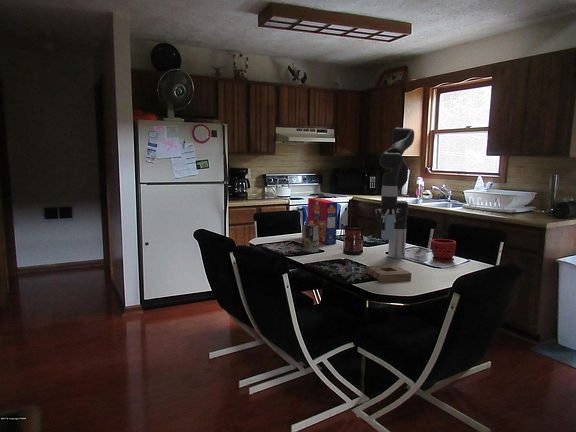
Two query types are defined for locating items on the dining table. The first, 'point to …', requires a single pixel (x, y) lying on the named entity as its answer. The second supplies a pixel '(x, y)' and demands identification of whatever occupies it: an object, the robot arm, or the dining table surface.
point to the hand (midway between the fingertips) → (387, 229)
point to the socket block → (388, 273)
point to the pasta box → (323, 218)
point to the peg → (388, 227)
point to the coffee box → (310, 238)
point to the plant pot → (443, 250)
